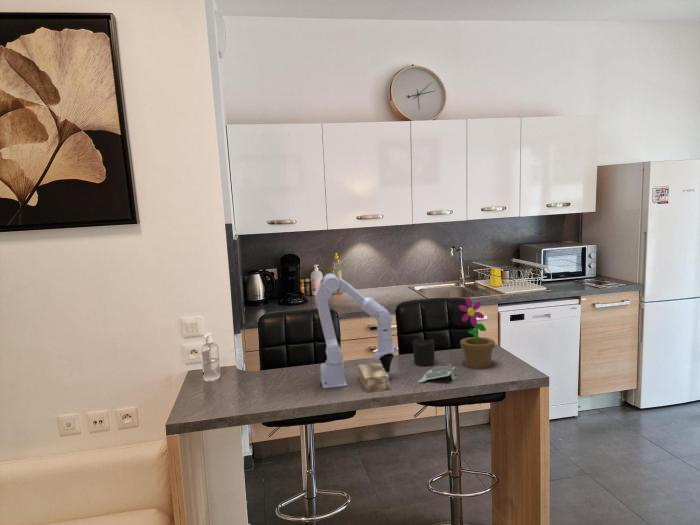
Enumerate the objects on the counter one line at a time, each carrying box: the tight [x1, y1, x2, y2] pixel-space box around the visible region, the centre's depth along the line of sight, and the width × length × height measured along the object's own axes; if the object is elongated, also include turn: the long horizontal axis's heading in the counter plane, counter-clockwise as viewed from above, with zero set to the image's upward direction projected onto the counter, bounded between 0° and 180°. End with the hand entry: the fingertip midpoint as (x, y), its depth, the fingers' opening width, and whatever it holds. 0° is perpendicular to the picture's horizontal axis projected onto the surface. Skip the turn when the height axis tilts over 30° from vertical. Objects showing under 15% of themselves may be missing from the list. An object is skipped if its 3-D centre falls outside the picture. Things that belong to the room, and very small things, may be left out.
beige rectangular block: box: [357, 362, 391, 393], centre depth 191 cm, size 10×16×6 cm, turn 9°
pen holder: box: [412, 338, 435, 367], centre depth 212 cm, size 9×9×10 cm
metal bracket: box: [417, 363, 458, 384], centre depth 193 cm, size 14×6×15 cm
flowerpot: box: [458, 296, 496, 369], centre depth 205 cm, size 14×14×30 cm
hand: (386, 371), depth 195 cm, fingers closed, pressing on door
